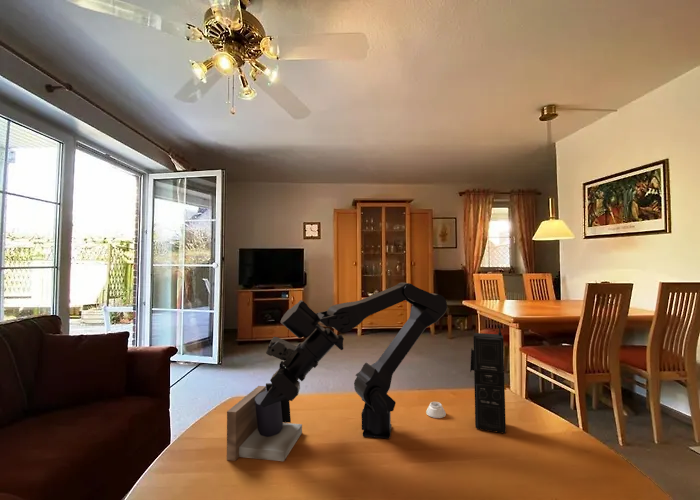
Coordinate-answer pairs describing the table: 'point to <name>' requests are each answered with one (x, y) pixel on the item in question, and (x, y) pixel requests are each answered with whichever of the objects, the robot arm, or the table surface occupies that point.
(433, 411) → the lidless jar
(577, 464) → the table surface
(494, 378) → the portable radio
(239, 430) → the wall board
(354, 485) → the table surface
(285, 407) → the dark grey mug
